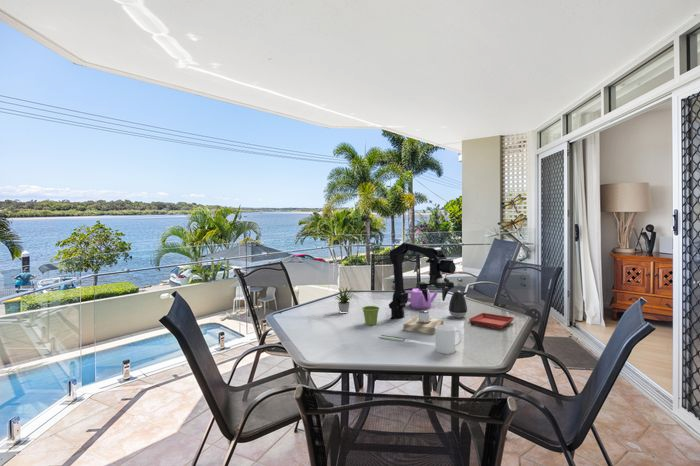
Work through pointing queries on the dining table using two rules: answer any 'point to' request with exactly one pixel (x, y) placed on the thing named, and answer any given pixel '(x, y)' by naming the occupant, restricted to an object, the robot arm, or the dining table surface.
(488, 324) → the plant saucer
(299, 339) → the dining table surface
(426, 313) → the grey metallic cylinder
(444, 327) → the cup
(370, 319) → the plant pot
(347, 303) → the house plant
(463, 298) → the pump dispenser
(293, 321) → the dining table surface
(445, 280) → the robot arm
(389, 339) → the mat
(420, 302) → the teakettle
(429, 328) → the housing
